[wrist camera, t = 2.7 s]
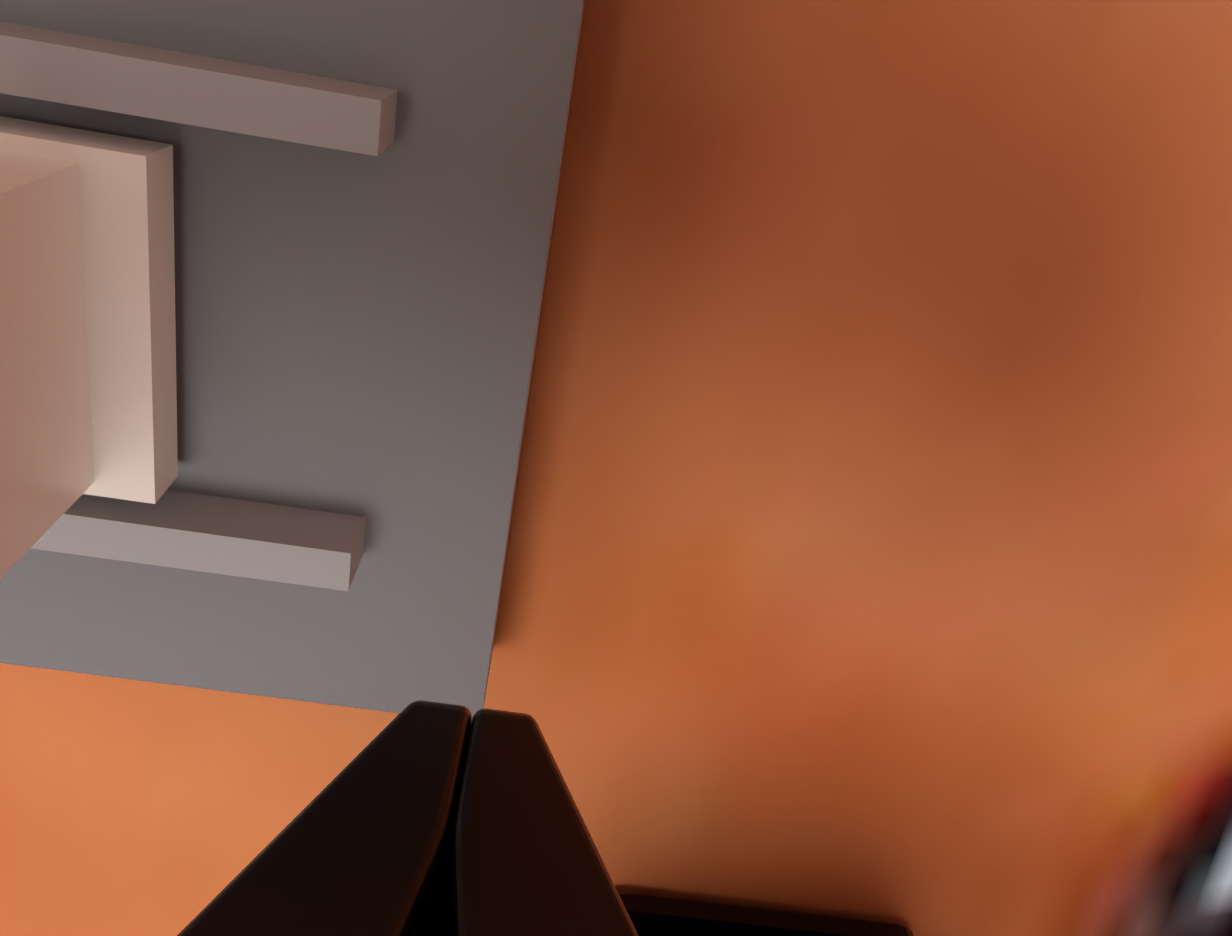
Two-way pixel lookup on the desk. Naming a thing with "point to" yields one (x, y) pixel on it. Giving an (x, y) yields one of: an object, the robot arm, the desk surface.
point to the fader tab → (83, 324)
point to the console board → (313, 337)
